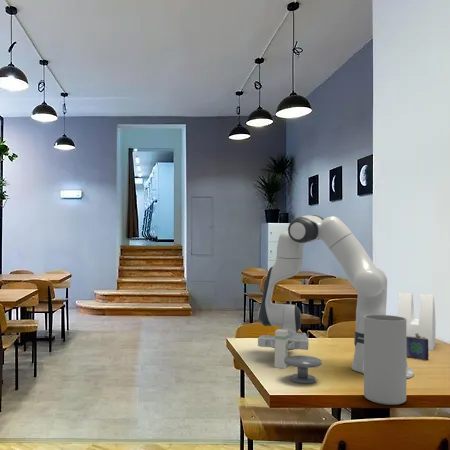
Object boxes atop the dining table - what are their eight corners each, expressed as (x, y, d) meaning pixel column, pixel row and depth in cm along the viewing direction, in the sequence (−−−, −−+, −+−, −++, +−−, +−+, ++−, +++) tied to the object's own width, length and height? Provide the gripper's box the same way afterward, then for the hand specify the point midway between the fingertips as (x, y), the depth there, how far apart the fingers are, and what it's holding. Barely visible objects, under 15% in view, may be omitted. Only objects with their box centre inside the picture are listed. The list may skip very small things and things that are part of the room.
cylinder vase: (357, 392, 150) (358, 314, 152) (395, 392, 151) (395, 314, 152) (372, 405, 138) (373, 320, 139) (413, 405, 139) (413, 321, 140)
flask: (405, 357, 201) (405, 332, 201) (407, 356, 203) (407, 331, 204) (427, 360, 195) (427, 335, 195) (429, 359, 197) (429, 334, 198)
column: (287, 366, 182) (288, 330, 182) (284, 368, 178) (285, 331, 179) (277, 364, 183) (278, 329, 184) (274, 367, 180) (274, 330, 180)
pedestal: (324, 377, 166) (325, 358, 167) (316, 387, 155) (317, 366, 155) (289, 373, 172) (289, 354, 172) (279, 382, 160) (279, 361, 160)
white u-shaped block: (432, 351, 214) (432, 296, 215) (396, 347, 221) (396, 294, 222) (435, 344, 231) (435, 293, 232) (402, 340, 238) (402, 291, 239)
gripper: (260, 330, 196) (254, 336, 183) (309, 333, 191) (307, 339, 178) (260, 345, 196) (254, 352, 183) (309, 348, 191) (307, 356, 178)
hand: (281, 346), depth 180 cm, fingers open, 5 cm apart
